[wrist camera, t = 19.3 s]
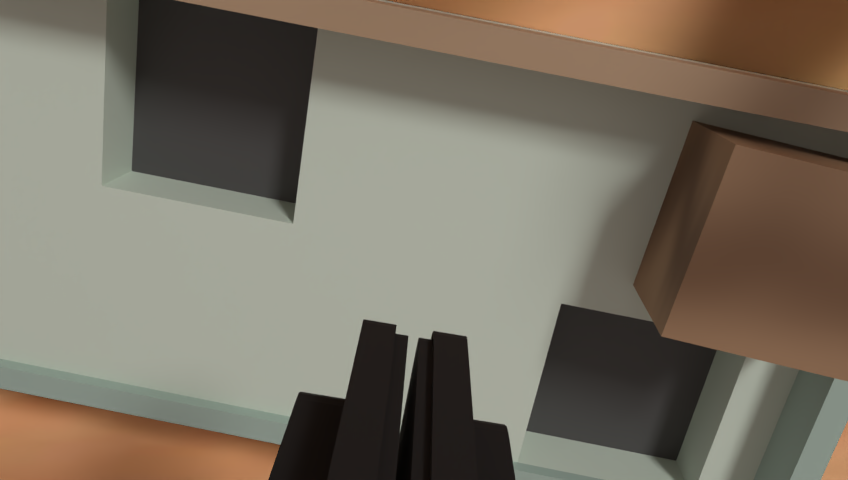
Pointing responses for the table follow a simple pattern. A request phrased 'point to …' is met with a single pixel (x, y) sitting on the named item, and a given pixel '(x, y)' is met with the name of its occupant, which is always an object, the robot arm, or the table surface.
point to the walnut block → (753, 252)
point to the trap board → (378, 225)
